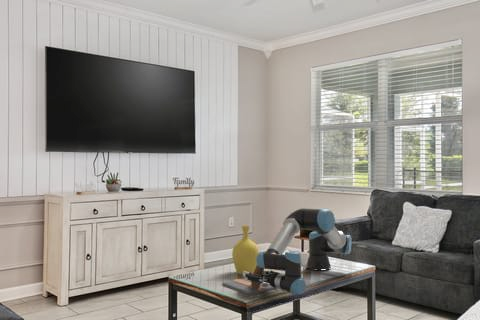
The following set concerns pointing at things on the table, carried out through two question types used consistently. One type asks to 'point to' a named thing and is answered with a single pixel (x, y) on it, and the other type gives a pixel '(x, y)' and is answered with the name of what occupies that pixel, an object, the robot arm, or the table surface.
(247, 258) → the vase
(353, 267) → the table surface
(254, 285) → the wooden block set
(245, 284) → the board
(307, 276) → the table surface
